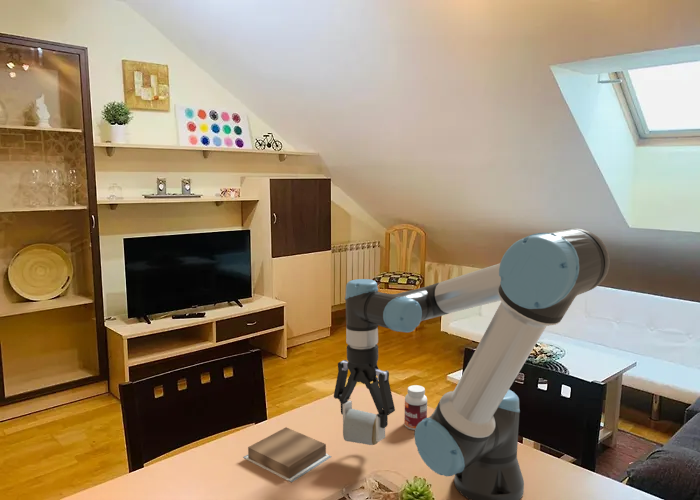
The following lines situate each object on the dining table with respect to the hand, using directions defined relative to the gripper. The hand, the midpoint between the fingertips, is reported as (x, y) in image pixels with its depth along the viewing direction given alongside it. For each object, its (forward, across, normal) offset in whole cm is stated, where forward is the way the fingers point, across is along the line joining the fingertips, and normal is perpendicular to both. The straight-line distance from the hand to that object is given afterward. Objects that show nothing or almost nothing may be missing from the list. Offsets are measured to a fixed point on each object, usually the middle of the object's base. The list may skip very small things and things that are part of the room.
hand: (363, 433), depth 130 cm
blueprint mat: (+7, +16, +11) cm, 20 cm away
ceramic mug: (+2, +1, -1) cm, 3 cm away
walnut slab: (+7, +16, +11) cm, 20 cm away
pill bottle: (+7, 0, -23) cm, 24 cm away
